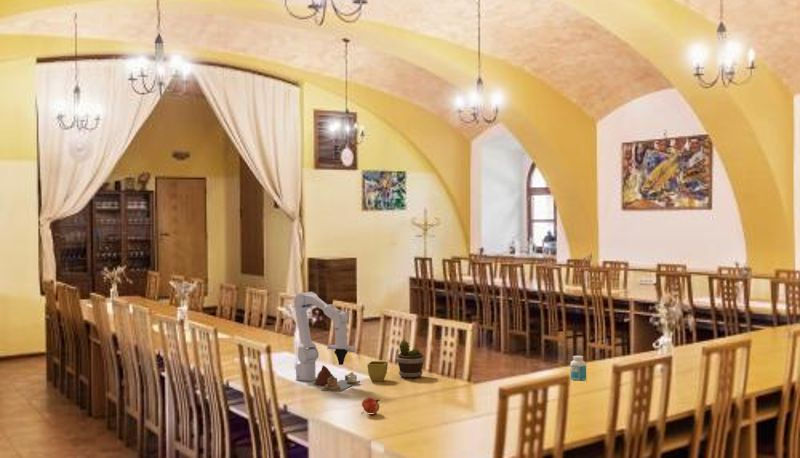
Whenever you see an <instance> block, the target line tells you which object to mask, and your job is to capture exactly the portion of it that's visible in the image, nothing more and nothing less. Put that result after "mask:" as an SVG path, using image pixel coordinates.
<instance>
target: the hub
mask: <svg viewBox="0 0 800 458" xmlns="http://www.w3.org/2000/svg"><path fill="white" fill-rule="evenodd" d="M349 374H350V376H353V374H354V372H353V371H350V372H349ZM356 381H357V380H354V381H347V383H349V384H353V383H356Z"/></svg>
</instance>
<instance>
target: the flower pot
mask: <svg viewBox="0 0 800 458" xmlns="http://www.w3.org/2000/svg"><path fill="white" fill-rule="evenodd" d="M388 362H389V361H382V360H380V361H377V360H371V361H369V362H368V363H367V364H366V365H367V371H368V372H367V374H368V376H369V379H370V381H371V382H383V381H384V380H385V379H386V378H385V377H386V375H387V371H388V365H389V363H388Z"/></svg>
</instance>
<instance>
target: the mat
mask: <svg viewBox="0 0 800 458" xmlns="http://www.w3.org/2000/svg"><path fill="white" fill-rule="evenodd" d="M360 382H361V380H356V383H353V384H349V383H347V380H345V379H341V380H337V385H340V388H339V389H325V387H324V388H322V389H321V391H324V392H325V391H326V392H339V393H341V392H342V391H345V390H347V389H348V388H351V387H353V386H354V385H356V384H359V383H360Z"/></svg>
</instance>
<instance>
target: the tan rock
mask: <svg viewBox="0 0 800 458" xmlns="http://www.w3.org/2000/svg"><path fill="white" fill-rule="evenodd" d="M337 382H338V377H335V376H334V375H333V376H330V378H328V384H327V385H324V388H325V389H339V388H340V385H337Z"/></svg>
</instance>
